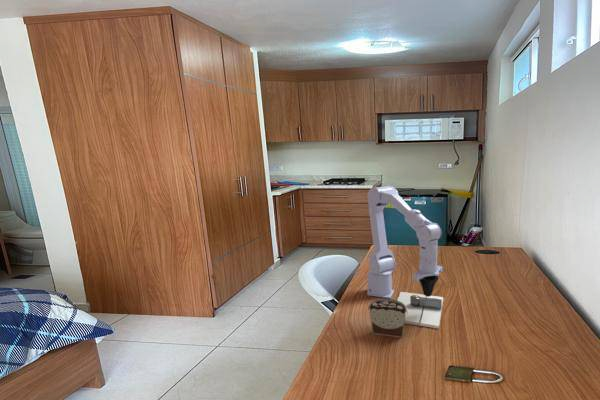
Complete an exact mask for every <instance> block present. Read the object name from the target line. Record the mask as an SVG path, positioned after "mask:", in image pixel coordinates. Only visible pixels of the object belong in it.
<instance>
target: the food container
mask: <svg viewBox="0 0 600 400" xmlns="http://www.w3.org/2000/svg"><path fill="white" fill-rule="evenodd" d="M367 310H368V311H369V315H370V321H371V322H370V323H371V330H372V331H371V333H372V334H374V335H378V336H388V337H393V338H402V339H403V337H404V329H405V323H404V322H405V314H406V312H407V309H406V306H405V305H404V304H403V303H402V302H400V301H397V299H391V298H377V299H375V300H374V299H373V300H372V301H370V303H369V304H368V307H367ZM407 314H408V313H407Z"/></svg>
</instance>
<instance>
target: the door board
mask: <svg viewBox="0 0 600 400" xmlns="http://www.w3.org/2000/svg"><path fill="white" fill-rule="evenodd" d="M412 295H417V296H420V297H424V298H433V299H442V305H443V303H444V296H437V295H431V296H429V297H428V296H425V295H424V294H421V293H414V292H413V293H412V292H406V291H400V293H399V295H398V297H397V299H396V300H397V301H400V302H402V303H403V304H404V305H405V306H406V309H407V312H406V314H405V322H404V324H407V325H413V326H419V327H420V326H421V327H427V328H432V329H438V330H439V329H440V323H441V316H442V310H443V308H442V309H439V308H430V307H422V306H418V307H415V306H412V305H410V296H412ZM407 313H408V314H407Z"/></svg>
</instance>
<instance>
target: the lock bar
mask: <svg viewBox="0 0 600 400" xmlns="http://www.w3.org/2000/svg"><path fill="white" fill-rule="evenodd" d="M410 305H412V306H415V307H418V306H422V307H430V308H439V309H442V310H443V304H442V299H433V298H424V297H420V296H417V295H412V296H410Z"/></svg>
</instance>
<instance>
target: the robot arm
mask: <svg viewBox="0 0 600 400" xmlns="http://www.w3.org/2000/svg"><path fill="white" fill-rule="evenodd" d="M366 195H367V202H368V214H369V220H370V221H369V222H370V228H371V236H372V243H373V251H372V252H371V253H370V254H369V261H368V267H369V271H368V274H367V279H366V280H367V281H366V282H367V285H366V286H367V293H366V296H369V297H377V298H383V299H391V298H392V296H393V294H394V292H395V290H394V289H392V282H393V281H392V279H393V278H392V274H393V272H394V270H395V268H396V267H397V266H396V265H397V262H396V260H395V256H394V253H393V251H392V250H391V249H389V248H388V247H389V246H388V240H387V234H386V233H387V232H386V227H385V219H384V218H385V217H384V209H385V208H386V207H387V205H391V206H393V207H394V208H395V209H396V210H397V211H398V212H399V213H400V214H402V215H403V216H404V221H405V222H406V223H407V224H408V225H409V226H410V227H411V229H412V230H413V231H415V232H416V238H417V239H418V244H419V269H418V270H417V271H416V272H415V273H414V274H412V280H413V281H415V282H419V283H420V285H421V289H422V292H423V295H425V296H428V297H429V296H433V295H432V294H433V291H434V288H435V285H436V283H437V282H438V281H439V276H440V273H442V272H443V271H444V270H443V269H444V267H443V266H442V265H438V252H439V251H438V248H439V247H438V245H439V244H438V243H439V242H438V241H439V240H440V238H442V236H443V235H442V234H443V231H442V228H441V227H440V225H439V224H438V223H436V222H432V221H430V220H429V219H427V218H426V217H425V216H424V215H423V214H422V212H421V211H420V209H412V208H411V207H410V206H409V204H408V203H407V202H405V200H404V199H403V198H402V196H401V195H399V191H398V190H397V189H396V188H395V187H394V186H393V185H385V186H377V187H374V186H373V187H370V189H369V190H368V192H367V193H366Z"/></svg>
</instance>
